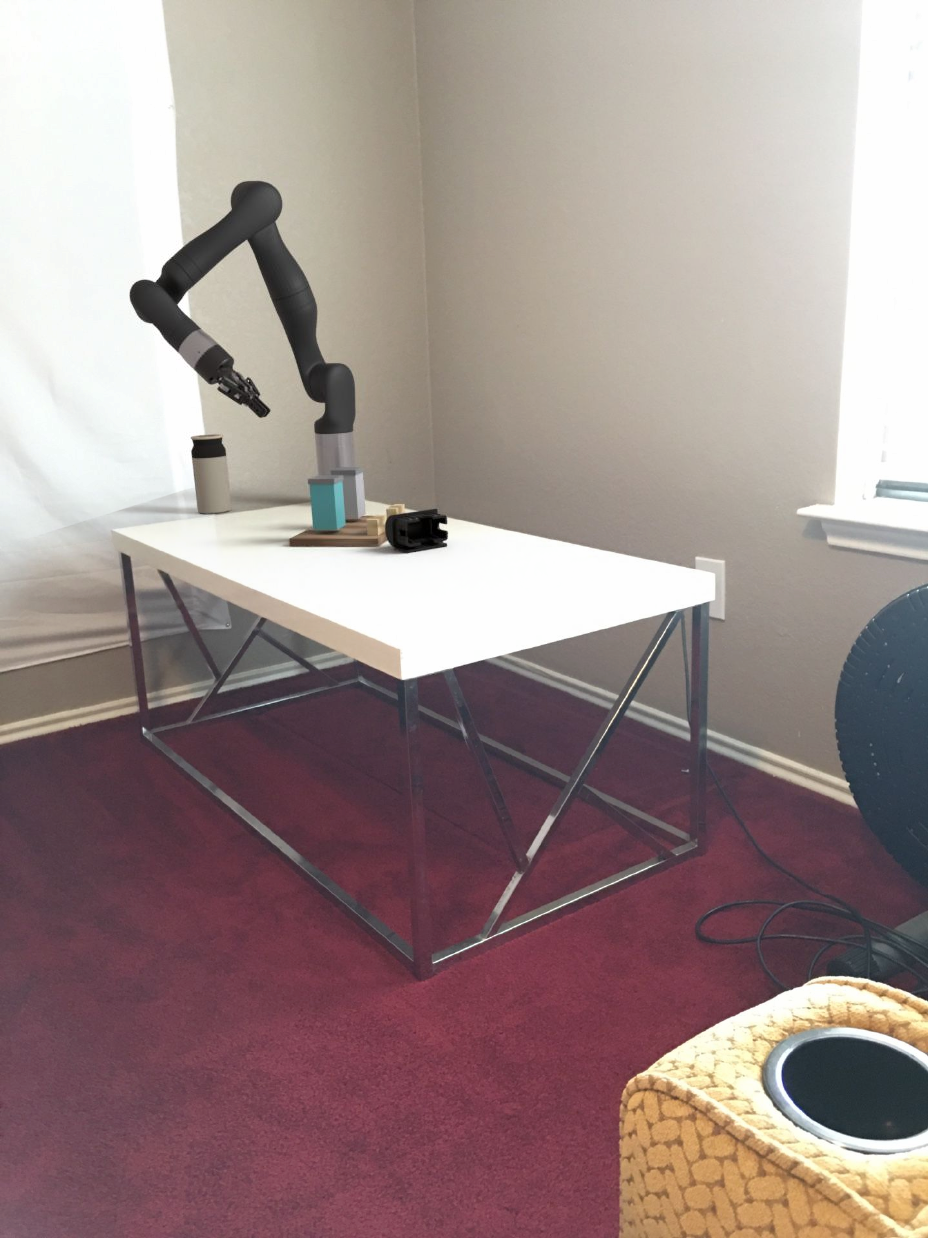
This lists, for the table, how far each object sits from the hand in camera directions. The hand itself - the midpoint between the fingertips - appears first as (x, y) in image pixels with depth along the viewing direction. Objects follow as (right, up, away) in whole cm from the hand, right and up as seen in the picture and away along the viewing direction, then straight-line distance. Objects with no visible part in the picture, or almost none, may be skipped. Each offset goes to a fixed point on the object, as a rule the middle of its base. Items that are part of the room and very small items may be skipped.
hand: (265, 414), depth 218 cm
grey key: (+18, -22, 0) cm, 28 cm away
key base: (+19, -26, -6) cm, 33 cm away
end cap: (+33, -30, -23) cm, 50 cm away
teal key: (+15, -25, -13) cm, 32 cm away
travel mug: (-18, -18, +31) cm, 40 cm away
